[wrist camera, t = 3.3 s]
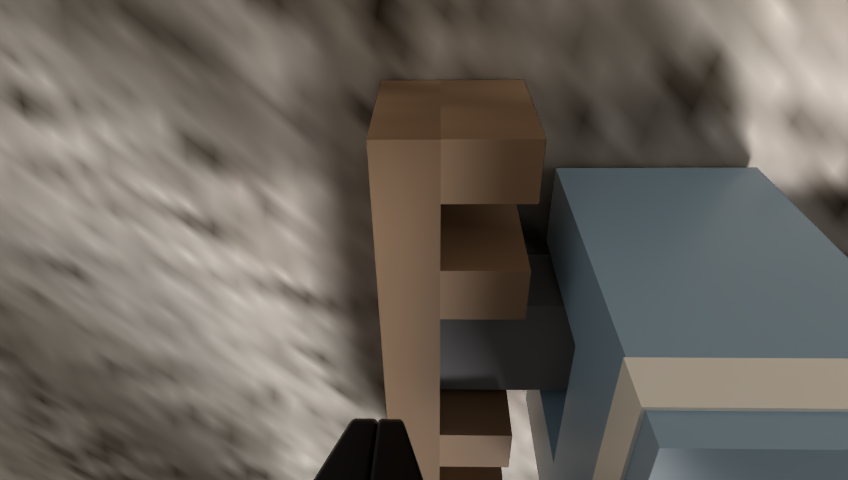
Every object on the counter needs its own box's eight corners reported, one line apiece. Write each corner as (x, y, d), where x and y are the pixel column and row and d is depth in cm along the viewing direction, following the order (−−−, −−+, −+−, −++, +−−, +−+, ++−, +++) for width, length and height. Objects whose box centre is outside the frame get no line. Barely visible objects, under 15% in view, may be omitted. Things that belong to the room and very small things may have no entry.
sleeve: (523, 399, 14) (570, 696, 9) (553, 165, 10) (655, 444, 6) (677, 400, 14) (808, 700, 9) (760, 165, 10) (1051, 448, 5)
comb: (400, 435, 15) (395, 524, 13) (380, 81, 10) (366, 139, 8) (492, 436, 15) (501, 526, 13) (523, 79, 10) (545, 139, 8)
